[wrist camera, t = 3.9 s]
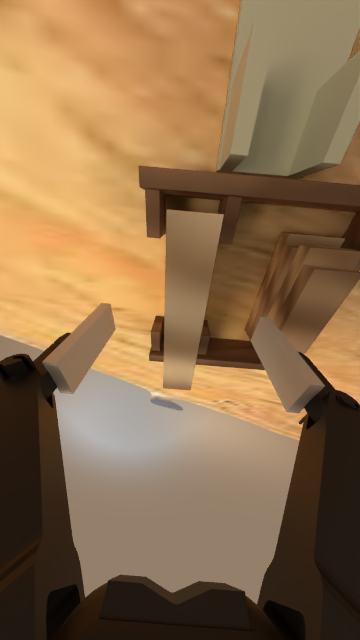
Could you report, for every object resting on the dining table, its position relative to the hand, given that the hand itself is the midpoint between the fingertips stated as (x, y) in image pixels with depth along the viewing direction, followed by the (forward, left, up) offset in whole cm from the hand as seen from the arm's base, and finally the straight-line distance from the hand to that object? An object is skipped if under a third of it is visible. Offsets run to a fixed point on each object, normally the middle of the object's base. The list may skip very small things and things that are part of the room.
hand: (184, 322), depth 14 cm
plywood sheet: (0, 0, -9) cm, 9 cm away
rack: (0, +7, -9) cm, 12 cm away
